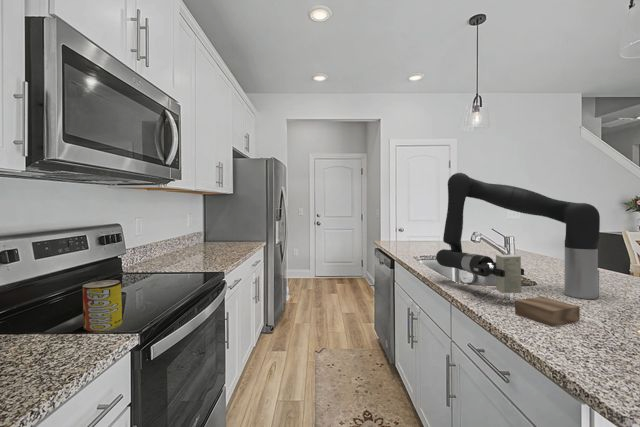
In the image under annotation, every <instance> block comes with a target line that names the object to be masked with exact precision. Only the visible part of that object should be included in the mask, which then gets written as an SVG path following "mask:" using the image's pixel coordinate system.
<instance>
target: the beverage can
mask: <svg viewBox="0 0 640 427" xmlns="http://www.w3.org/2000/svg"><path fill="white" fill-rule="evenodd" d="M122 301H123V300H122V281H121V280H117V279H108V280H100V281H99V280H98V281H93V282H89V283H85V284H83V285H82V314H83V315H82V317H83V320H82V322H83V331H84V332H86V333H87V332H88V333H98V332H105V331H109V330H113V329H116V328H118V327H120V326H121V325H122V324H123V307H122V306H123V305H122V304H123V303H122Z"/></svg>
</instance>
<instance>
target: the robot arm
mask: <svg viewBox="0 0 640 427" xmlns="http://www.w3.org/2000/svg"><path fill="white" fill-rule="evenodd" d="M466 198H470V199H471V198H472V199H476V200H481V201H483V202H486V203H489V204H491V205H494V206H496V207H498V208H503V209H505V210H509V211H514V212H516V213H521V214H525V215H532V216H539V217H543V218H549V219H551V220H554V221H556V222H557V221H558V222H560V223H562V224H565V236H564V237H565V239H564V281H563V282H564V286H563V287H564V292H563V293H564V295H566V296H568V297H572V298H577V299H587V300H594V299H595V300H596V299H598V297H600V270H599V268H598V266H599V265H598V264H599V249H598V248H599V241H600V228H601V223H600V222H601V218H600V213H599V210H598V208H597V207H595V206H594V205H592V204H590V203H585V202H572V201H571V202H570V201H565V200H561V199H560V200H559V199H556V198H553V197H552V198H551V197H548V196H546V195H543V194H541V193H538V192H535V191H532V190H529V189H526V188H523V187H517V186H515V185H514V186H513V185H508V184H500V183H488V182H485V181H481V180H479V179H475V178H472V177H470V176H469V175H467V174H466V173H463V172H455V173H454V174H452V175H451V176H449V178H448V180H447V212H446V217H445V224H444V231H443V237H442V240H443V243H445V244H448V245H449V247H450V249H445V248H444V249H441V250H439V251H437V253H436V256H435V260H436V262H437V263H438V264H439V265H440V266H442V267H446V268H453V269H458V270H461V271H464V272H467V273H469V274H472V275H476V276H481V277H484V278H486V277H489V276H492V277H493V276H500V277H505V271H504V270H501V269H496V261H494V260H493V258H491V257H490V256H487V255H482V254H476V253H468V252H463V247H462V238H463V237H462V236H463V228H464V227H463V226H464V207H465V201H466ZM524 275H525V269H524V268H522V267H521V276H524Z"/></svg>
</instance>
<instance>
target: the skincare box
mask: <svg viewBox="0 0 640 427" xmlns="http://www.w3.org/2000/svg"><path fill="white" fill-rule="evenodd" d="M521 259H522V258H521V255H517V254H513V253H511V254H495V262H496V269H501V270H504V271H505V277H500V276H496V275H495V276H496V291H498V292H500V293H501V294H522V275H521V268H522V267H521V265H522V263H521V262H522V260H521Z"/></svg>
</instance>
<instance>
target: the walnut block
mask: <svg viewBox="0 0 640 427" xmlns="http://www.w3.org/2000/svg"><path fill="white" fill-rule="evenodd" d="M514 306H515V307H514V314H515V315H516V316H521V317H523V318H527V319H529V320H531V321H535V322H538V323H541V324H544V325H546V326H549V327H558V326H561V325H562V324H563V325H566V324H567V323H568V324H572V323H573V322H574V323H577V322H578V321H579V322H580V317H581V316H580V310H581V309H580V308H581V307H580V306H578V305H575V304H571V303H568V302H567V303H566V302H563V301H559V300H556V299H553V298H552V299H551V298H548V297H544V296H537V297H536V296H535V297H528V298H522V299H515V300H514ZM579 322H578V323H579ZM557 325H558V326H557Z"/></svg>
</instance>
